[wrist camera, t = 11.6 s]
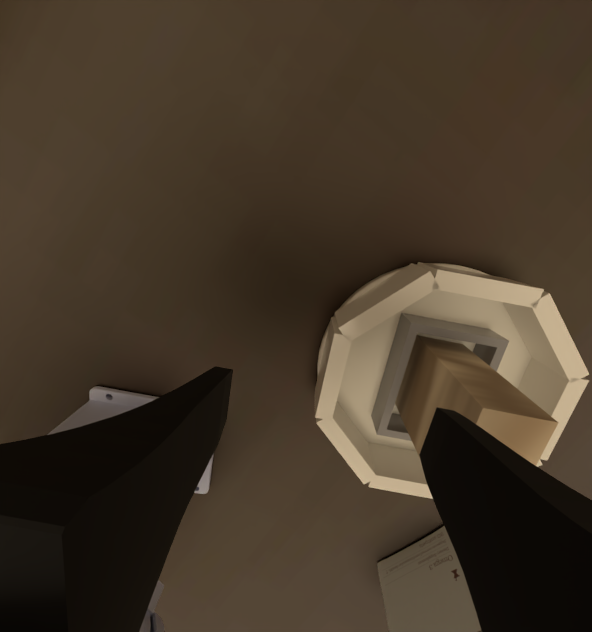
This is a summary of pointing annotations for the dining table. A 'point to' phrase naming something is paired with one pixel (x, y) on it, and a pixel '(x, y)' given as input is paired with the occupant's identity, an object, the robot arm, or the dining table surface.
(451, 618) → the supplement box
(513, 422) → the tan wooden block
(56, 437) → the robot arm
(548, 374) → the octagonal cream tray
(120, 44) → the dining table surface
